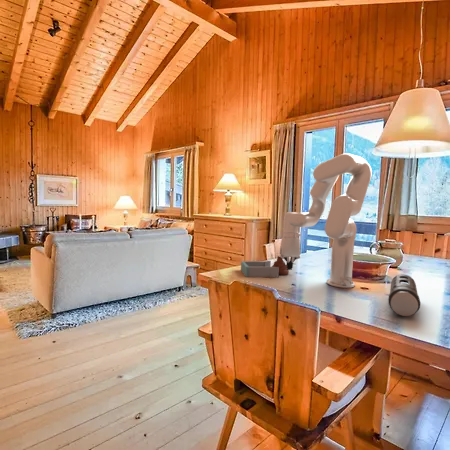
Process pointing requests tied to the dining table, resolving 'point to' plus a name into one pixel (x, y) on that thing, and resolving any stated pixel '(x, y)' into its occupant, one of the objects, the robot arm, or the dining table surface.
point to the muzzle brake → (404, 296)
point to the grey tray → (259, 269)
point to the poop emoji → (281, 266)
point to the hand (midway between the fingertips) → (289, 269)
